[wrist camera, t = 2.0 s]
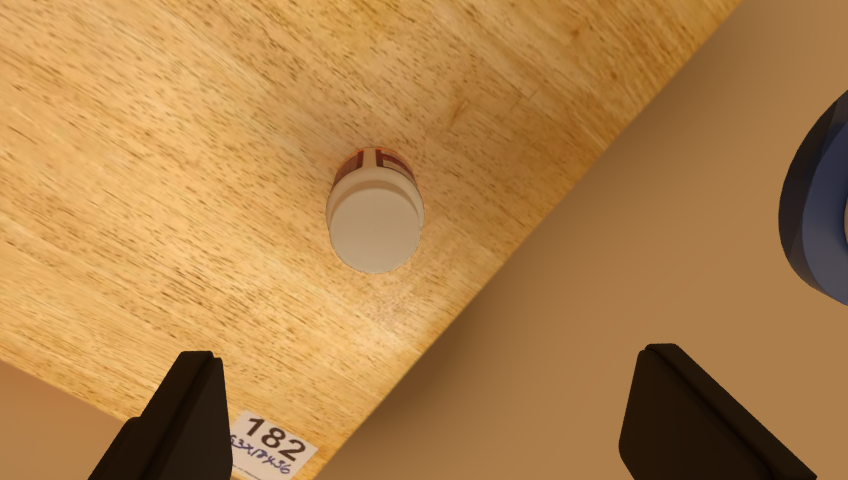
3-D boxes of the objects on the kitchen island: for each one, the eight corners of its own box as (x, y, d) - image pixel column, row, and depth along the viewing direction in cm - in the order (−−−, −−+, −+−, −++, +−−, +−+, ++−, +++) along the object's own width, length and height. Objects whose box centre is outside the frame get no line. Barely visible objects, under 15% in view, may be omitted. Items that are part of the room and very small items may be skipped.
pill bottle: (343, 230, 30) (331, 290, 23) (327, 152, 29) (308, 188, 21) (421, 217, 31) (436, 273, 23) (409, 140, 29) (421, 170, 21)
